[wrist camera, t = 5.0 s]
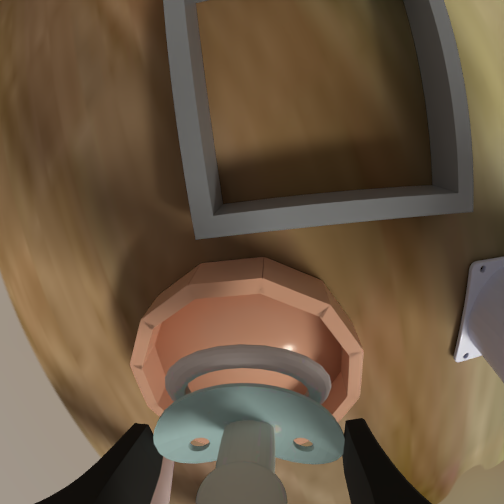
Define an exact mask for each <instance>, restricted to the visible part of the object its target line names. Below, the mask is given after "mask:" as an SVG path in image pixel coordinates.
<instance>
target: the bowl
mask: <svg viewBox="0 0 504 504" xmlns="http://www.w3.org/2000/svg"><path fill="white" fill-rule="evenodd" d="M238 344H246V345H266V346H271V347H277V348H282V349H288V350H291V351H293V352H296V353H299V354H302V355H305V356H307V357H309V358H310V359H312V360H313V361H315V362H317V363H318V364H320V365H321V366H322V367H323V368H324V369H325V371H326V372H327V373H328V374H329V376H330V380H331V386H332V387H331V390H330V392H329V395H328V397H327V399H326V400H325V401H324V402H323V403H322V404H321V405H322V406H323V407H325V408H326V409H327V410H328V411H329V412H330V413H331V414H332V415H333V417H334V418H335V419H336V421H337V422H339V421H340V420H341V419H342V417H343V416H344V415H345V414H346V413H347V412H348V411H349V409H350V408H351V407H352V406H353V405H354V403H355V402H356V401H357V400H358V399H359V397H360V390H361V379H362V367H363V353H364V351H363V348H362V346H361V343H360V340H359V338H358V335H357V333H356V330H355V328H354V325H353V323H352V321H351V320H350V319H349V317H348V316H347V314H346V313H345V312H344V310H343V309H342V307H341V306H340V305H339V303H338V302H337V300H336V299H335V298H334V296H333V295H332V293H331V292H330V291H329V289H328V288H327V286H326V285H325V284H324V282H323V281H322V280H320V279H317V278H315V277H312V276H310V275H308V274H305V273H303V272H300V271H298V270H295V269H293V268H291V267H288V266H286V265H283V264H281V263H278V262H276V261H274V260H271V259H269V258H266V257H256V258H247V259H237V260H227V261H218V262H208V263H201V264H199V265H198V266H196V267H195V268H194V269H193V270H191V271H190V272H189V273H187V274H186V275H185V276H183V277H182V278H181V279H179V280H178V281H177V282H175V283H174V284H173V285H171V286H170V287H169V288H167V289H166V290H165V291H163V292H162V293H161V294H159V295H158V296H157V298H156V299H155V301H154V302H153V303H152V305H151V306H150V308H149V309H148V310H147V312H146V313H145V315H144V316H143V317H142V319H141V321H140V325H139V329H138V332H137V336H136V341H135V345H134V349H133V353H132V357H131V362H130V367H131V369H132V371H133V374H134V376H135V379H136V381H137V383H138V386H139V388H140V390H141V392H142V395H143V397H144V399H145V401H146V403H147V406H148V407H149V408H150V409H151V410H153V411H154V412H155V413H156V414H157V415H158V416H161V415H162V413H163V412H164V410H165V409H166V408H168V407H169V406H170V405H171V404H172V403H173V402H174V401H173V400H172V399H171V397H170V396H169V394H168V392H167V390H166V388H165V376H166V374H167V372H168V370H169V368H170V367H171V366H172V365H173V364H175V363H176V362H177V361H178V360H179V359H181V358H183V357H185V356H187V355H190V354H192V353H194V352H196V351H199V350H204V349H208V348H212V347H217V346H226V345H238ZM230 383H257V384H266V385H272V386H277V387H282V388H285V389H289V390H292V391H295V392H297V393H300V394H302V395H305V393H306V392H307V388H306V386H305V385H304V384H303V383H302V382H300V381H298V380H296V379H295V378H293V377H291V376H288V375H285V374H282V373H278V372H275V371H269V370H263V369H251V368H235V369H224V370H219V371H214V372H209V373H207V374H204V375H201V376H199V377H197V378H195V379H194V380H192V381H191V382H189V383H188V387H189V389H190V391H191V393H192V392H194V391H197V390H199V389H203V388H207V387H211V386H216V385H221V384H230ZM194 440H195V441H198V442H201V443H204V444H208V443H209V440H208V439H206V438H196V439H194ZM308 441H309V440H307V439H305V438H296V439H294V442H296V443H297V444H299V445H301V444H303V443H306V442H308Z"/></svg>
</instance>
